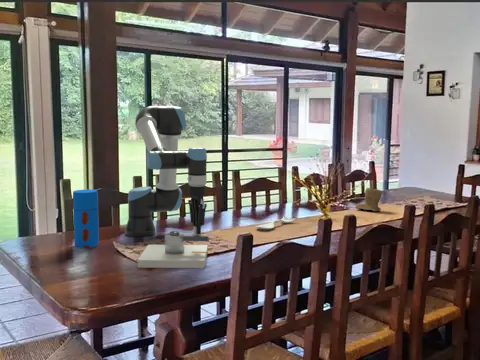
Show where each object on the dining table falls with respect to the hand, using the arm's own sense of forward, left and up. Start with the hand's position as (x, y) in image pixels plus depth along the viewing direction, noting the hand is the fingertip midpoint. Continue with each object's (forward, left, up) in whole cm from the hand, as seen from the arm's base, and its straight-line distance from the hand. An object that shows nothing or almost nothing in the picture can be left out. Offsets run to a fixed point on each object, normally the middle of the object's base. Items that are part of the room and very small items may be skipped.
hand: (197, 241), depth 205 cm
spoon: (+38, +64, -8) cm, 75 cm away
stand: (-9, -2, -7) cm, 12 cm away
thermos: (-52, +20, -8) cm, 56 cm away
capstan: (-4, -2, -4) cm, 6 cm away
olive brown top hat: (+104, +115, -8) cm, 155 cm away
